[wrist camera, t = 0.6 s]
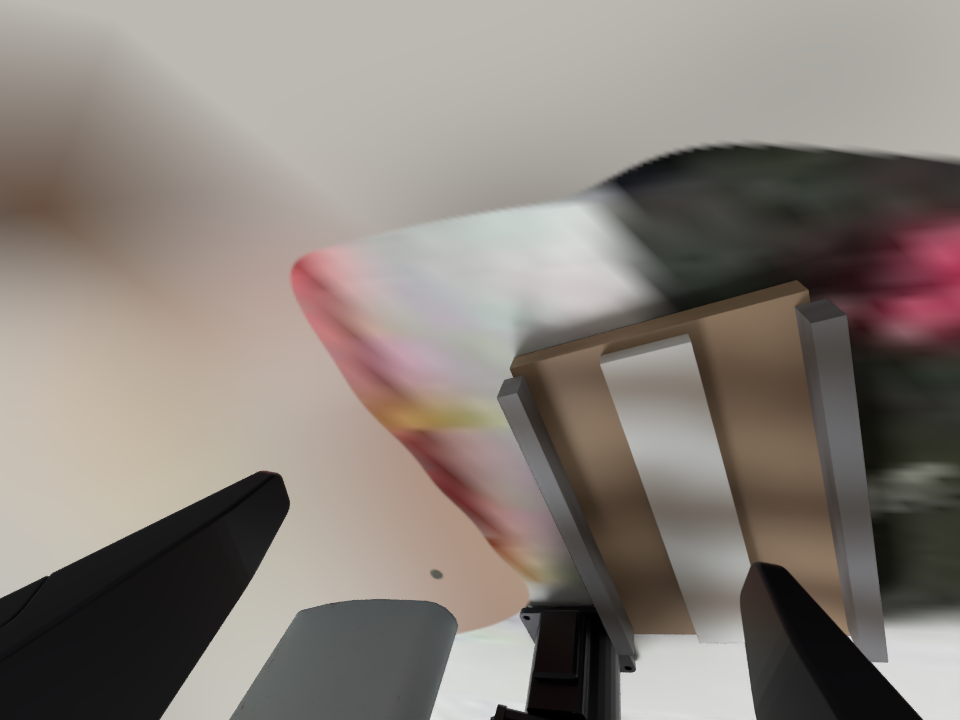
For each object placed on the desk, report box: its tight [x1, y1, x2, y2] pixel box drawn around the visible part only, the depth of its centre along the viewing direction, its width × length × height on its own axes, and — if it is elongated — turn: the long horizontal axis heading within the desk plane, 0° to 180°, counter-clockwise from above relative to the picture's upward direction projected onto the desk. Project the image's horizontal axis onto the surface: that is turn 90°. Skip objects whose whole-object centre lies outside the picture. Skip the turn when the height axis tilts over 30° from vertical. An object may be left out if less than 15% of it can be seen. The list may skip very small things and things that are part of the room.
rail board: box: [497, 280, 888, 662], centre depth 22 cm, size 20×13×3 cm, turn 24°
